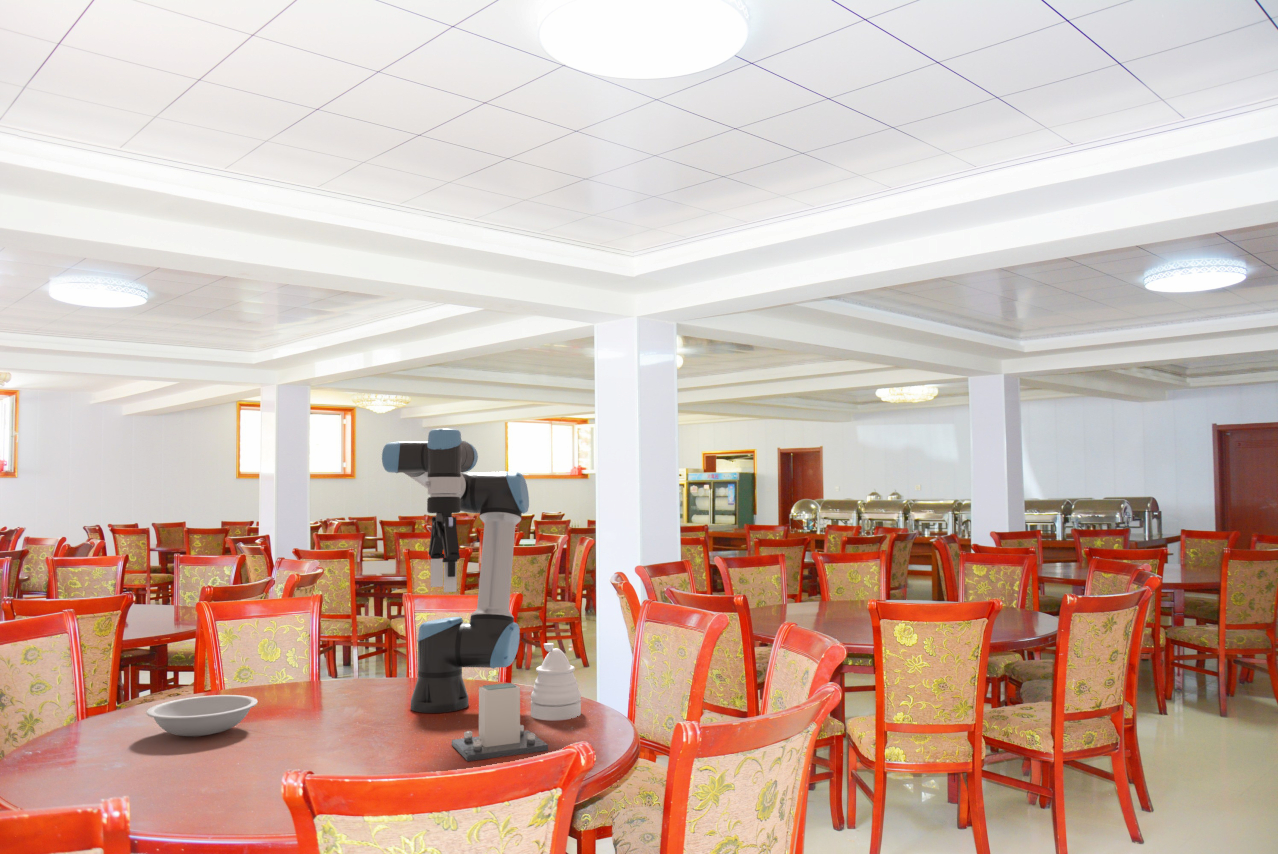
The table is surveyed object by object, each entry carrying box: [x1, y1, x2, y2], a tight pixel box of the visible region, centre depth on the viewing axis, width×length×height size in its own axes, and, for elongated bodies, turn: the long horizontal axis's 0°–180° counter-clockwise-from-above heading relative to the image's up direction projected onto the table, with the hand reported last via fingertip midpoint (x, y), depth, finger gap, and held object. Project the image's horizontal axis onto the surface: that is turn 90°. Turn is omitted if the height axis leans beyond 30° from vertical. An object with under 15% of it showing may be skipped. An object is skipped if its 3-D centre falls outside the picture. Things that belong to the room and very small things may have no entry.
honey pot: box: [530, 642, 582, 721], centre depth 229 cm, size 13×13×18 cm
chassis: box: [451, 724, 549, 762], centre depth 197 cm, size 14×18×3 cm
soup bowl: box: [145, 694, 258, 737], centre depth 213 cm, size 24×24×7 cm
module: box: [478, 682, 521, 747], centre depth 198 cm, size 5×8×12 cm, turn 115°
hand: (443, 589), depth 203 cm, fingers open, 13 cm apart
